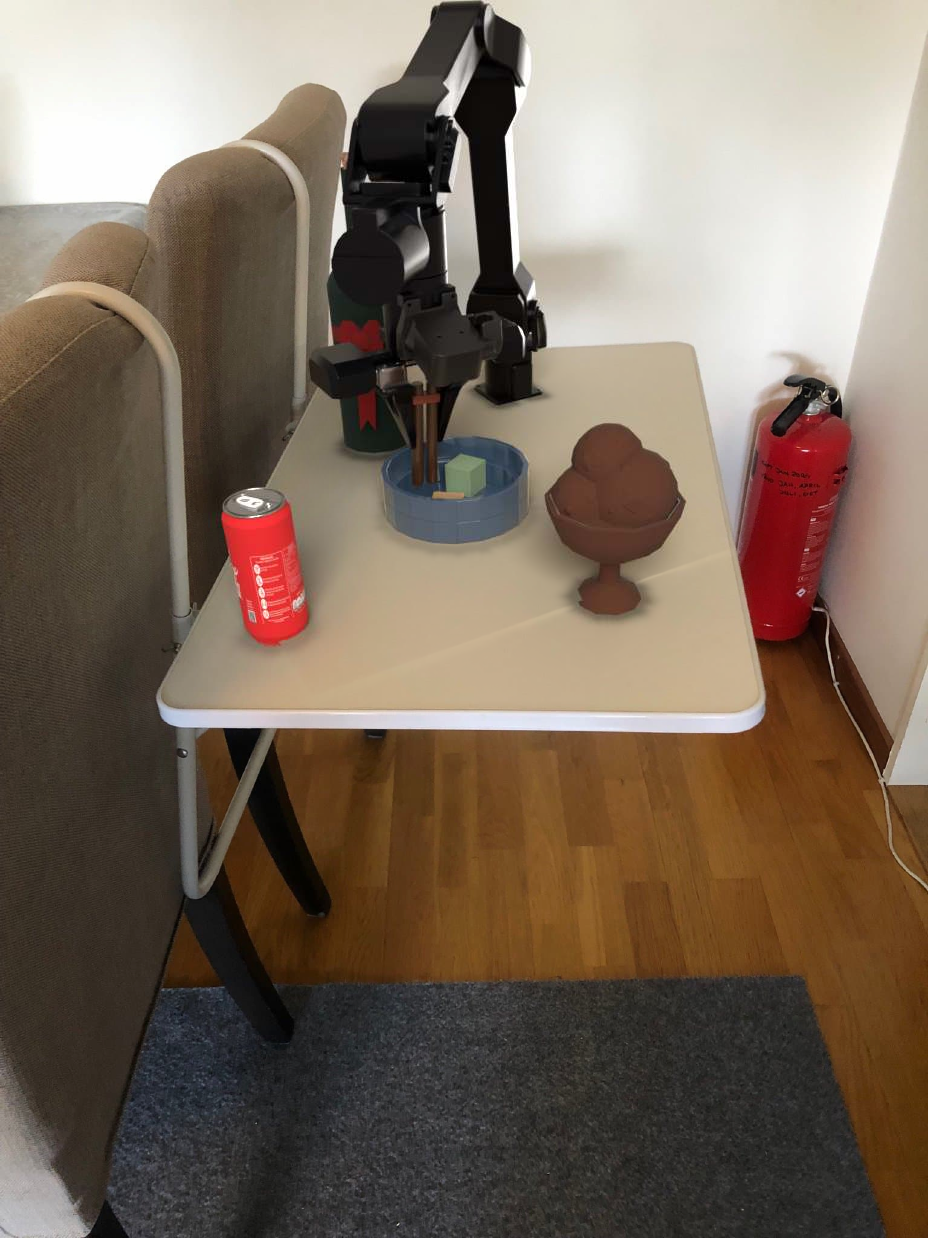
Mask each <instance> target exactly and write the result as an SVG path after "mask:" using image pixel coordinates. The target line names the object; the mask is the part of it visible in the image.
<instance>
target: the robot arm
mask: <svg viewBox="0 0 928 1238" xmlns="http://www.w3.org/2000/svg"><path fill="white" fill-rule="evenodd" d="M423 35H424V36H423V37H422V39H421V40H420V43H419V45H418V47H417V48H416V50H415V52H414V54H413V56H412V57H411V59H410V61H409V63H408V64H407V66H406V68H405V71H404V72H403V74H402V76H401V78H399V79H398V80H397V81H395V82H392V83H389V84H387V85H384V86H382V87H379V88H377V89H375V90H374V91H373V92H372V93H371V94H370V95H368V97H367V98H366V99H365V100H364V101H363V102H362V103H361V105H360V107H359V110H358V112H357V114H356V117H355V118H354V119H353V121H352V126H351V130H350V137H349V144H348V151H347V152H348V159H347V166H346V174H345V181H344V188H343V191H342V197H341V201H342V202H341V203H342V205H343V206H344V205H345V206H357V207H355V208H353V209H352V212H351V214H352V224H353V227H352V228H351V229H349V230H348V231H347V230H346V231H344V232H343V233H342V234H341V235H340V237H339V238H338V239H337V241H336V243H335V245H334V248H333V251H332V255H331V256H332V257H331V259H330V266H331V272H333V276H334V278H335V280H336V283H337V285H338V286H339V288H340V289H341V290H342V292H343V293H344V294H345V295H346V296H347V297H348V298H349V299H351V300H352V301H354V302H356V303H358V304H359V305H363V306H367V307H378V306H382V308H383V320H384V327H383V328H379V334H380V340H381V341H383V342H384V343H386V348H384V349H380V350H375V351H370V352H364V351H362V350H361V349H360V348H358V347H357V346H355V345H354V344H353V343H351V342H347V343H342V344H337V345H329V346H328V345H327V346H323V347H318V348H314V349H313V351H312V352H311V355H310V356H309V358H308V370H309V377H310V378H309V379H310V381H311V382H312V383H313V384H314V385H316V386H317V387H318V388H319V389H320V390H321V391H322V392H323V393H324V394H325V395H327V397H329V398H330V399H332V400H339V401H340V400H341V399H346V398H350V397H355V396H359V395H363V394H368V393H370V391H371V390H372V389H373V390H374V391H376V392H377V393H378V394H379V395H381V396H382V397H383V399H384V401H385V402H386V404H387V406H388V408H389V410H390V411H391V413H392V415H393V417H394V419H395V421H396V423H397V425H398V427H399V429H400V431H401V433H402V435H403V437H404V439H405V441H406V443H407V445H408V446H409V447H410V448H411V449H415V448H416V430H415V422H414V415H413V407H412V396H413V393H414V391H415V386H414V385H412V384H411V383H412V382H410V381H409V380H408V381H407V380H406V370H405V368H406V367H407V368H409V367H414V366H418V368H419V369H420V371H421V372H422V373H423V375H424V379H425V380H426V381H428V383H430V384H431V385H433V386H436V387H438V392H439V393H440V402H438V442H442V441H443V439H444V437H445V435H446V433H447V430H448V426H449V423H450V420H451V418H452V414H453V411H454V408H455V405H456V402H457V399H458V397H459V395H460V393H461V391H462V389H463V387H464V386H466V384H467V383H469V382H470V381H473V380H474V381H475V380H477V379H479V378H480V376H481V373H482V367H483V361H484V382H483V383H478V384H475V385H474V390H475V391H476V392H477V393H479V394H480V395H482V396H483V397H485V398H486V399H488V400H490V401H491V402H492V403H494V404H496V405H498V406H502V405H506V404H510V403H514V402H519V401H523V400H526V399H530V398H534V397H539V396H542V395H543V389H541V388H540V387H537V386H536V385H534V384H533V374H534V373H533V372H534V371H533V367H534V365H533V353H539V350H542V349H546V348H547V347H548V327H547V322H546V321H547V320H546V316H545V313H544V311H543V307H542V304H541V300H540V299H537V294H536V292H537V291H536V281H535V279H534V277H533V276H532V274H531V273H530V271H529V270H528V269H527V267H526V266H525V265H524V263H523V262H522V260H521V259H520V243H519V242H520V241H519V225H518V224H519V223H518V210H517V209H518V208H517V206H518V205H517V191H516V171H515V158H514V157H515V156H514V155H515V154H514V141H513V139H514V138H513V137H514V136H513V123H514V122H515V120H516V117H517V115H518V113H519V111H520V109H521V107H522V104H523V102H524V100H525V98H526V96H527V87H528V86H529V84H530V79H531V70H532V57H531V49H530V45H529V43H528V41H527V39H526V37H525V34H524V32H523V31H522V28H521V27H520V26H517V25H515V24H514V23H512V22H510V21H509V20H506V19H505V18H503V17H501V16H500V15H497V13H496V12H495V11H494V9H493V7H492V5H491V3H484V1H483V0H450V1H448V0H447V1H441V2H440V3H439V4H437V5H433V6H432V8H431V11H430V18H429V26H428V28H427V30H426V32H425V34H423ZM457 125H458V126H459V128H460V130H461V131H462V132H463V134H464V135H465V136H466V138H467V144H468V154H469V155H468V156H469V165H470V166H469V167H470V177H471V186H472V197H473V198H472V200H473V209H474V221H475V230H476V232H475V233H476V241H477V253H478V263H479V264H478V265H479V273H478V275H477V277H476V280H475V282H474V284H473V285H472V288H471V290H470V292H469V294H468V299H467V301H466V308H465V314H462V311H461V309H460V306H459V301H458V294H457V291H456V286H455V285H453V284H451V283H450V282H449V271H448V270H449V269H448V249H447V247H448V245H447V226H446V209H445V202H446V200H447V196H448V194H453V190H454V184H455V179H456V176H457V175H456V174H457V170H458V164H459V160H460V154H461V150H462V135H461V132H460V131H458V126H457ZM367 178H368V180H369V181H368V182H367V181H366V179H367ZM407 445H406V446H407Z"/></svg>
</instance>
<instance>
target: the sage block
mask: <svg viewBox="0 0 928 1238" xmlns="http://www.w3.org/2000/svg"><path fill="white" fill-rule="evenodd" d="M445 479H446V492H458V493H465V497H473V496H474V495H475V494H477V493H478V492H479V491H481V490H482V489H483V488H484V487H486V461H485V459H481V458H476V457H472V456H468V455H464V454H460V455H458V456H457V457H455V458H454V459H453V460H451V461H450V462H448V463H447V464H446V465H445Z"/></svg>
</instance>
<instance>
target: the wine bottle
mask: <svg viewBox="0 0 928 1238" xmlns="http://www.w3.org/2000/svg"><path fill="white" fill-rule="evenodd" d="M339 156H340V157H339V158H340V160H341V165H342V166H340V167H339V170H340V181H341V190H342V192H343V188H344V181H345V174H346V166H347V159H348V151H342V152H341V154H340V155H339ZM355 207H357V206H345V205H343V209H344V218H345V227H346V228H345V229H346V231H348V230H349V229H351V228H352V227H353V224H352V214H351V212H352V209H353V208H355ZM326 293H327V301H328V309H329V317H330V318H329V319H330V326H331V327H330V328H331V335H332V344H333V345H337V344H342V343H347V342H351V343H353V344H354V345H355V346H357V347H358V348H360V349H361V350H362V351H364V352H370V351H375V350H380V349H384V348H386V343H384V342H383V341H381V340H380V334H379V328H383V327H384V320H383V308H382V306H378V307H367V306H363V305H359V304H358V303H356V302H354V301H352V300H351V299H349V298H348V297H347V296H346V295H345V294H344V293H343V292H342V290H341V289H340V288H339V286H338V285H337V283H336V280H335V278H334V276H333V272H332V271H331V272H330V273H329V275H328V278H327V282H326ZM407 369H408V367H406V368H405V370H406V380H407V381H408V382H409V379H408V370H407ZM339 407H340V415H341V423H342V424H341V425H342V431H343V441H344V445H345V446H346V447H347V448H348V449H350V450H353V451H355V452H359V453H367V454H381V453H387V452H388V453H389V452H393V451H396V450H399V449H401V448H403V447H405V446H407V443H406V441H405V439H404V437H403V435H402V433H401V431H400V429H399V427H398V425H397V423H396V421H395V419H394V417H393V415H392V413H391V411H390V410H389V408H388V406H387V404H386V402H385V401H384V399H383V397H382V396H381V395H379V394H378V393H377V392H376V391H374V390H373V389H372V390H371V391H370V393H368V394H363V395H359V396H355V397H350V398H346V399H341V400H339Z"/></svg>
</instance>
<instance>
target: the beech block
mask: <svg viewBox="0 0 928 1238" xmlns="http://www.w3.org/2000/svg"><path fill="white" fill-rule="evenodd" d="M432 498H445V499H460V498H465V493H458V492H434V493H433V496H432Z"/></svg>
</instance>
